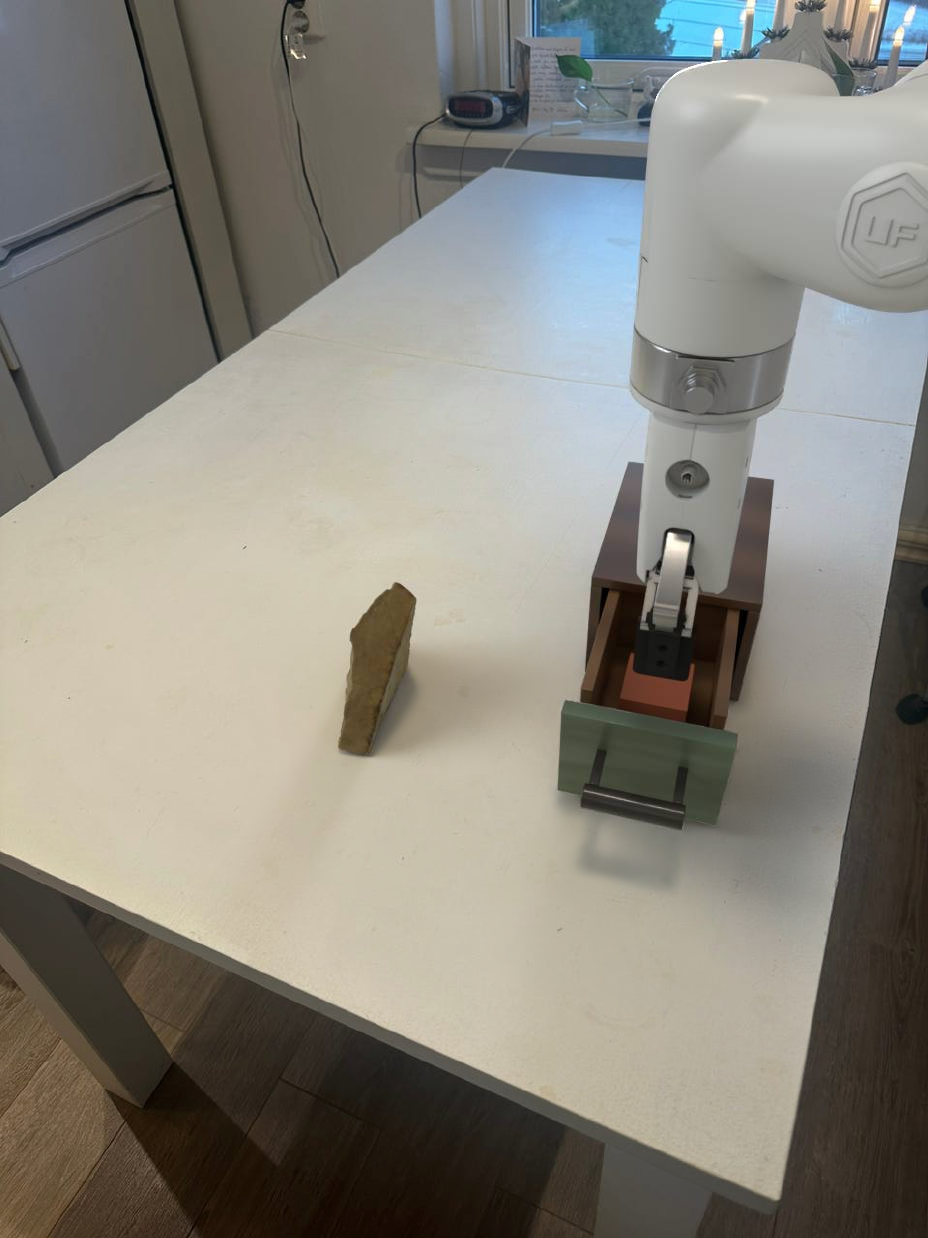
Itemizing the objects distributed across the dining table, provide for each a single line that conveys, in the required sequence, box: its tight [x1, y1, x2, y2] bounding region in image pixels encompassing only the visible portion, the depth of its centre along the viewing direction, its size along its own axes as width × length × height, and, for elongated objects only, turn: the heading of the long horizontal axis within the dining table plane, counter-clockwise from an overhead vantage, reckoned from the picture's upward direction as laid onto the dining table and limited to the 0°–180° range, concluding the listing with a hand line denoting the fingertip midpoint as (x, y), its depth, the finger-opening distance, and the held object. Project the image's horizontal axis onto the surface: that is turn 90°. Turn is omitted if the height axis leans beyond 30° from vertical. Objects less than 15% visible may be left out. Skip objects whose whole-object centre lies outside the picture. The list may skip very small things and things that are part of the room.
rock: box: [337, 581, 417, 755], centre depth 64 cm, size 11×9×10 cm
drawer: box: [557, 588, 740, 832], centre depth 58 cm, size 19×10×8 cm, turn 162°
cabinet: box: [584, 460, 775, 702], centre depth 69 cm, size 16×12×10 cm
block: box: [618, 653, 695, 723], centre depth 59 cm, size 4×4×4 cm
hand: (671, 619), depth 54 cm, fingers open, 9 cm apart
